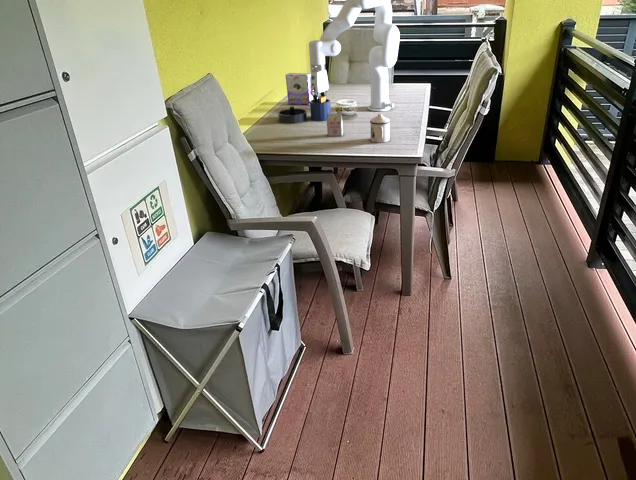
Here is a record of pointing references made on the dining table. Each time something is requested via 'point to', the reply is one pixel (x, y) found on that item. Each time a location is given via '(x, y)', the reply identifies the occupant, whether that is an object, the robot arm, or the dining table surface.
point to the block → (322, 99)
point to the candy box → (298, 88)
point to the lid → (292, 111)
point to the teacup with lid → (380, 129)
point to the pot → (320, 110)
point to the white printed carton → (334, 125)
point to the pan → (292, 116)
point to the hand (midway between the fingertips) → (320, 105)
